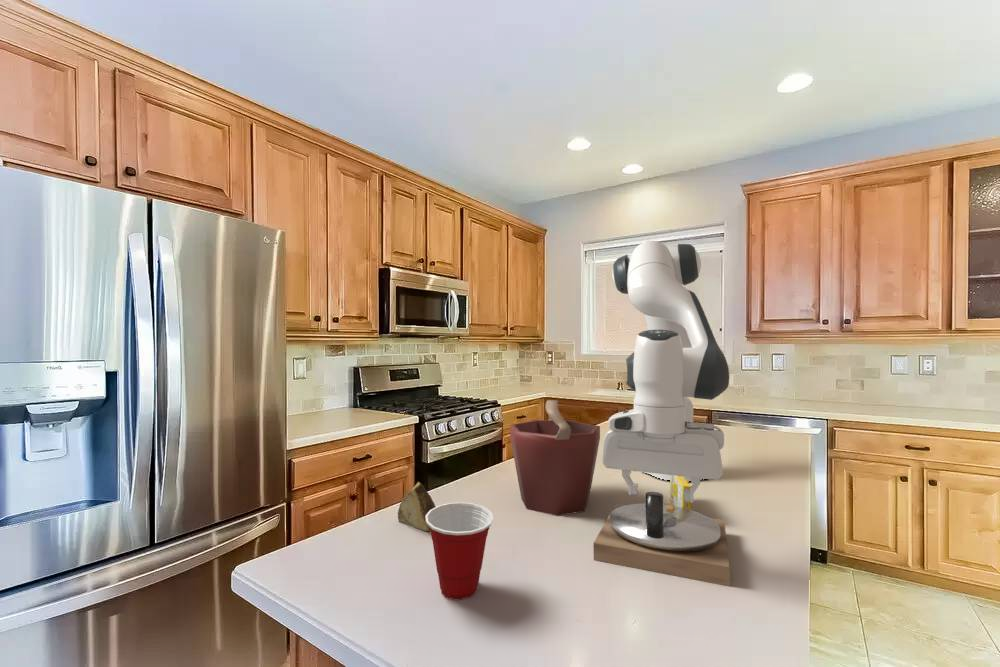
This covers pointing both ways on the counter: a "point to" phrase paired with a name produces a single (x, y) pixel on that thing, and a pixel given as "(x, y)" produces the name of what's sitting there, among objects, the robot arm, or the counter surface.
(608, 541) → the walnut base
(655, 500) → the handwheel
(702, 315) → the robot arm
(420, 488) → the rock
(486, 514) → the plastic cup
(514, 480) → the counter surface
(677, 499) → the candy box
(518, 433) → the bucket
